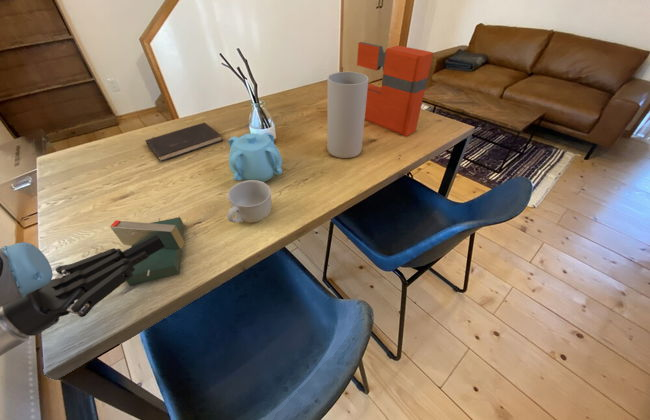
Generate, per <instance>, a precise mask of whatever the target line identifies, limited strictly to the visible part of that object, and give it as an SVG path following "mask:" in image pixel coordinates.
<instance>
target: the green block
mask: <svg viewBox="0 0 650 420" xmlns="http://www.w3.org/2000/svg"><path fill="white" fill-rule="evenodd" d="M151 223H154V224H167V225H176V227H177V229H178V231H179V233H180V235H181V237H182V238H183V239H184V229H185V224H184V222H183V220H182V218H181V216H178V217H172V218H168V219H164V220H161V217H158V219H157V221H153V222H151ZM196 236H197V235H196V234H191V235H189V238H192V237H196ZM182 250H183V247H182V248H181V249H169V248H162V249H160V250H158V251H157V252H155V253H153V254H151V255H149V257H148V258H147V259H145V260H143V261H141V262H140V263H138V264H136V265H135V266H133V267H134V269H135V270H134V271H133V272H132V274H133V275H132V277H130V278H129V279H128V280H126V281H125V282H126V283H127V284H128V285H129V286H134V285H138V284H142V283H146V282H151V281H155V280H159V279H163V278H167V277H168V278H169V277H171V276H175V275H180V269H181V262H182V261H181V260H182Z"/></svg>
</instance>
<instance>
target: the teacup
mask: <svg viewBox="0 0 650 420" xmlns="http://www.w3.org/2000/svg"><path fill="white" fill-rule="evenodd" d="M227 199H228V200H229V204H230V208H229V209H228V211H227V214H226V218H227V220H228V221H229V222H230V223H232V224H237V223H257V222H260V221H262V220H264V219H265V218H267V217H268V216H269V215H270V213H271V211H272V206H273V205H272V189H271V187H270V186H269V185H268V183H266V182H261V181H257V180H247V181H244V180H242V181H239V182H237V183H235V184H234V185H232V186H231V187H230V188H229V190H228V192H227ZM234 217H235V218H234Z"/></svg>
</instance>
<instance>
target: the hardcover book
mask: <svg viewBox="0 0 650 420" xmlns="http://www.w3.org/2000/svg"><path fill="white" fill-rule="evenodd" d="M144 141H145V143H146V145H147V147H148V148H149V150H150V151H151V152H152V153H153V154H154V156H155V157H156V158H157V159H158V161H159V162H160V163H163V162H165V161H169V160H171V159H174V158H178V157H180V156H183V155H185V154H189V153H191V152H194V151H197V150H200V149H203V148H206V147H209V146H212V145H215V144H218V143H221V142H223V139H222V135H221V134H220V133H218V132H217V131H216V130H215V129H214V128H212V127H211V126H210V125H209V124H207V123H206V122H201V123H198V124H195V125H191V126H187V127H184V128H181V129H177V130H174V131H171V132H167V133H164V134H161V135H157V136H155V137H151V138H148V139H145V140H144Z"/></svg>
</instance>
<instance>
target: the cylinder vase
mask: <svg viewBox="0 0 650 420" xmlns="http://www.w3.org/2000/svg"><path fill="white" fill-rule="evenodd" d="M368 84H369V77H368V75H367V74H364V73H361V72H356V71H338V72H337V71H336V72H334V73H331V74H329V75H328V76H327V95H326V96H327V105H326V106H327V107H326V108H327V109H326V110H327V124H326V125H327V129H326V130H327V131H326V132H327V137H326V138H327V143H326V144H327V147H326V148H327V151H328V153H329V155H332V157H333V156H334V157H335V158H339V159H352V158H354V157H357V156H359V155H360V154H361V152H362V150H363V141H364V130H365V121H366V120H365V110H366V99H367V89H368Z"/></svg>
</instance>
